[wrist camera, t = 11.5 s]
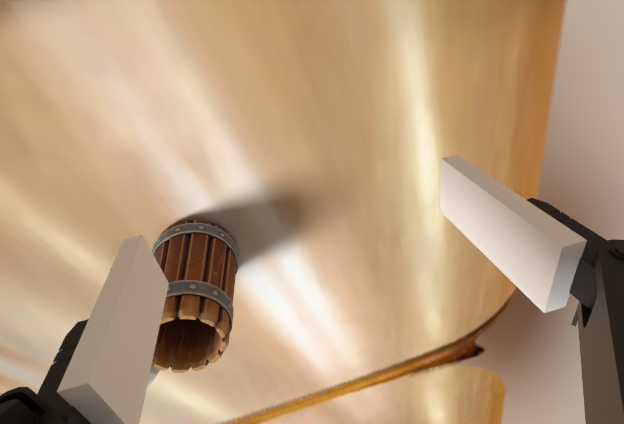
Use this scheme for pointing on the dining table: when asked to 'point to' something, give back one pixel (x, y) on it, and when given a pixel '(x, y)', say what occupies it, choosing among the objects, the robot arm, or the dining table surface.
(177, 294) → the mug
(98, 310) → the robot arm
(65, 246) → the dining table surface
